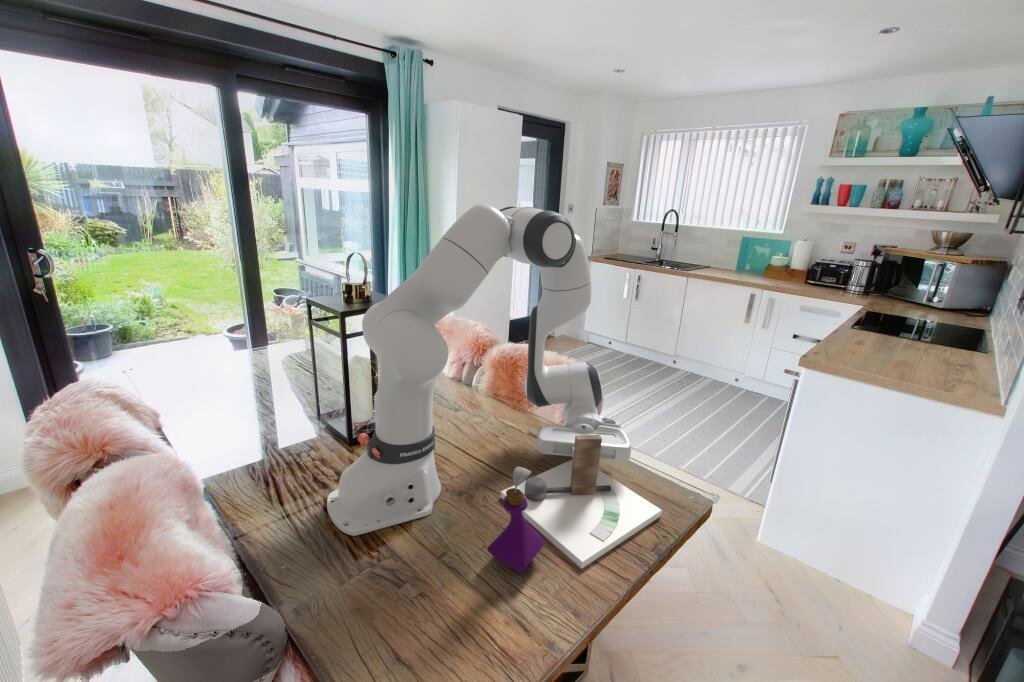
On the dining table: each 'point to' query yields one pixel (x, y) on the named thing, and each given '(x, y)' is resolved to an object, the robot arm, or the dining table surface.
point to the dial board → (587, 515)
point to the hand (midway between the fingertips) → (585, 463)
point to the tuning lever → (574, 471)
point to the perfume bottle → (516, 530)
